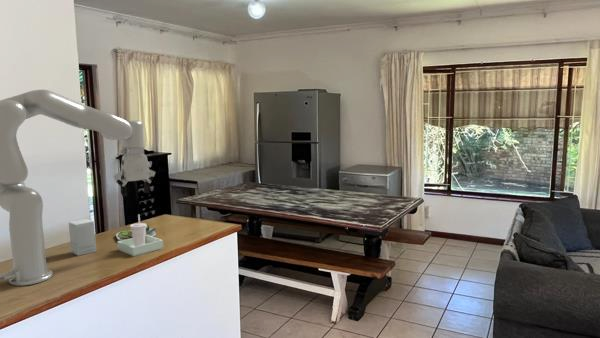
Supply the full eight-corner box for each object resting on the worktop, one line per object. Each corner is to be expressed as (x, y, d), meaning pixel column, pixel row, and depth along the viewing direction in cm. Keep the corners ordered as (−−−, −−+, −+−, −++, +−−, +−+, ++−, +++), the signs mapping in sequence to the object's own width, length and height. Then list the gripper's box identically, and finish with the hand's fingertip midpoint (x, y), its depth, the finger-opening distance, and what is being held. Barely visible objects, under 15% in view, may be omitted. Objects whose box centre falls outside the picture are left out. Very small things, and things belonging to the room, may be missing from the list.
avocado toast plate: (161, 240, 193) (160, 230, 193) (117, 246, 186) (116, 236, 185) (155, 230, 211) (154, 220, 210) (115, 235, 203) (114, 225, 202)
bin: (133, 256, 172) (133, 247, 171) (117, 249, 180) (117, 241, 180) (163, 248, 181) (162, 240, 181) (146, 242, 190) (146, 234, 190)
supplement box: (96, 251, 179) (94, 221, 177) (77, 256, 173) (75, 224, 172) (89, 247, 184) (87, 218, 182) (70, 252, 178) (67, 221, 177)
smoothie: (142, 250, 177) (140, 216, 175) (128, 249, 178) (125, 216, 176) (151, 245, 183) (149, 212, 181) (137, 245, 184) (134, 212, 183)
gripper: (117, 153, 167) (119, 198, 169) (158, 151, 179) (160, 192, 181) (108, 152, 171) (110, 196, 173) (149, 150, 184) (150, 190, 186)
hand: (135, 194), depth 177 cm, fingers open, 9 cm apart
